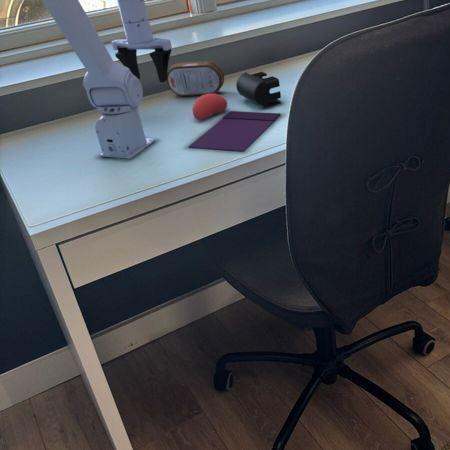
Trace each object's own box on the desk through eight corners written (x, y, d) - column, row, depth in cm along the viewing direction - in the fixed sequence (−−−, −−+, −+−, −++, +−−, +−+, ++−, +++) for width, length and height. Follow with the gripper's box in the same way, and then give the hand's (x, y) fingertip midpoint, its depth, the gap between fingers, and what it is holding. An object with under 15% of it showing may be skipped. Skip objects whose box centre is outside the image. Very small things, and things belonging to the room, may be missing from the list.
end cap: (238, 101, 141) (234, 75, 138) (263, 94, 144) (259, 68, 141) (257, 112, 134) (253, 84, 130) (282, 104, 137) (279, 76, 133)
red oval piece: (191, 120, 137) (182, 103, 131) (219, 98, 139) (211, 80, 134) (204, 131, 135) (196, 115, 129) (232, 108, 137) (225, 91, 131)
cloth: (243, 151, 115) (243, 149, 115) (188, 147, 120) (188, 145, 119) (281, 115, 131) (280, 113, 130) (231, 112, 135) (230, 110, 135)
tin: (226, 90, 149) (221, 59, 145) (224, 95, 147) (218, 62, 142) (172, 94, 151) (165, 63, 147) (168, 98, 149) (161, 66, 144)
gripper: (173, 15, 125) (185, 75, 132) (119, 16, 130) (134, 74, 137) (155, 23, 119) (169, 85, 126) (100, 24, 124) (116, 84, 132)
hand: (150, 80), depth 131 cm, fingers open, 7 cm apart
